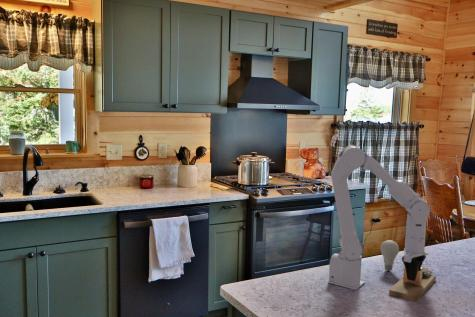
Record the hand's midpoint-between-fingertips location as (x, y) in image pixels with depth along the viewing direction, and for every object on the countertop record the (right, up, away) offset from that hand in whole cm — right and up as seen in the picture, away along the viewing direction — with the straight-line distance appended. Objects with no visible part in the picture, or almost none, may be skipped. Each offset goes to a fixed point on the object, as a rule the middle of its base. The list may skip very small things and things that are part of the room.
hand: (412, 278), depth 140 cm
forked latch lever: (+4, -1, +5) cm, 6 cm away
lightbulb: (-2, -2, +15) cm, 16 cm away
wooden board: (+1, -3, +2) cm, 4 cm away
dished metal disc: (+6, -1, +8) cm, 10 cm away
